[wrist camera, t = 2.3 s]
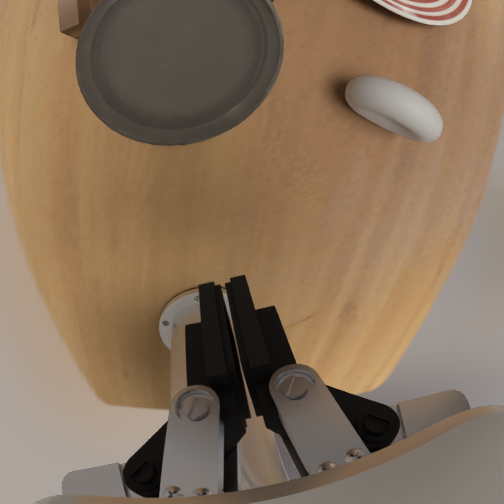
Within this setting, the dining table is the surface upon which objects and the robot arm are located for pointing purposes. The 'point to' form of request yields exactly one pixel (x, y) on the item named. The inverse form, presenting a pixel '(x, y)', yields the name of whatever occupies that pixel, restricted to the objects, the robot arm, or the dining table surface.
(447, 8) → the dinner plate
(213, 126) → the coffee can
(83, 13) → the frame
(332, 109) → the dining table surface
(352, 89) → the donut
